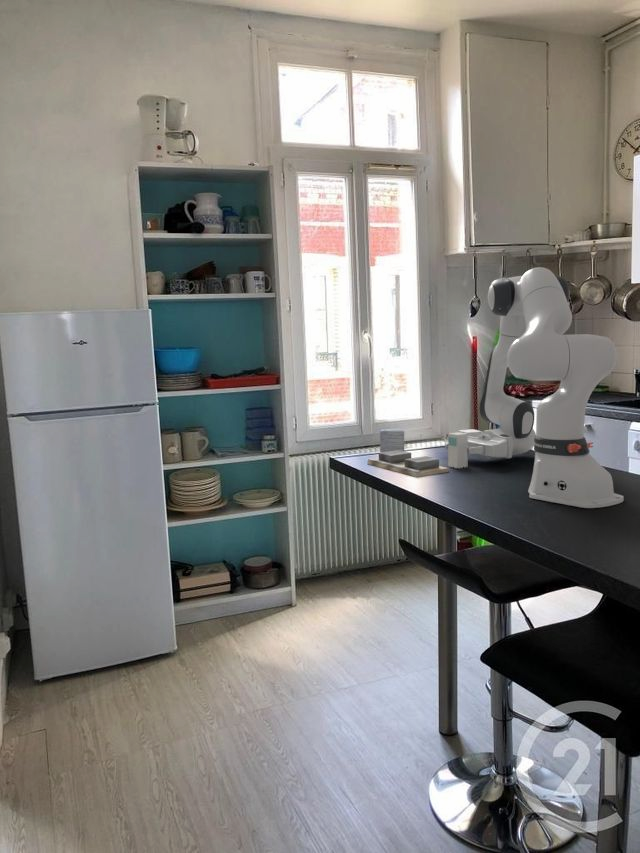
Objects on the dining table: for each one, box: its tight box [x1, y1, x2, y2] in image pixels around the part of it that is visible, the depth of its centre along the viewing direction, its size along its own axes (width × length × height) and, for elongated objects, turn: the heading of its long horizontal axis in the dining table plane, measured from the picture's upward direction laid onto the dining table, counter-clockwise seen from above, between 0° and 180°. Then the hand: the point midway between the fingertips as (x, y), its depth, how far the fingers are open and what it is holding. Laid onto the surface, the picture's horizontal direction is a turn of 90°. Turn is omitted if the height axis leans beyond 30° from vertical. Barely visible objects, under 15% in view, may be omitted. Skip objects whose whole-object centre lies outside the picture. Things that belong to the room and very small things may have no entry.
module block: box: [447, 431, 469, 469], centre depth 208 cm, size 4×4×10 cm
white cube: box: [457, 428, 483, 438], centre depth 239 cm, size 6×6×6 cm
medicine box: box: [379, 428, 405, 453], centre depth 227 cm, size 8×4×9 cm, turn 84°
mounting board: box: [367, 450, 450, 478], centre depth 208 cm, size 24×12×4 cm, turn 31°
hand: (457, 448), depth 207 cm, fingers open, 8 cm apart
